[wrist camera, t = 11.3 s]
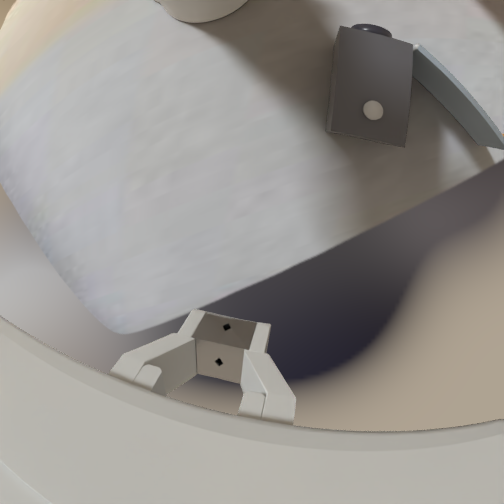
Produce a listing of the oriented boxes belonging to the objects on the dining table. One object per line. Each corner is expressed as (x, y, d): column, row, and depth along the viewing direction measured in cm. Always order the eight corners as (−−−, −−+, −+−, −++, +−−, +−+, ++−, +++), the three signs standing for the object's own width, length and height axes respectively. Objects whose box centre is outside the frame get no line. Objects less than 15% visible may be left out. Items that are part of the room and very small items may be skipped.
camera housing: (334, 36, 27) (341, 11, 20) (393, 50, 26) (414, 31, 19) (325, 131, 33) (331, 130, 25) (385, 144, 32) (406, 147, 24)
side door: (394, 61, 27) (413, 46, 20) (400, 53, 26) (420, 38, 19) (477, 144, 28) (507, 150, 21) (482, 137, 27) (512, 141, 21)
